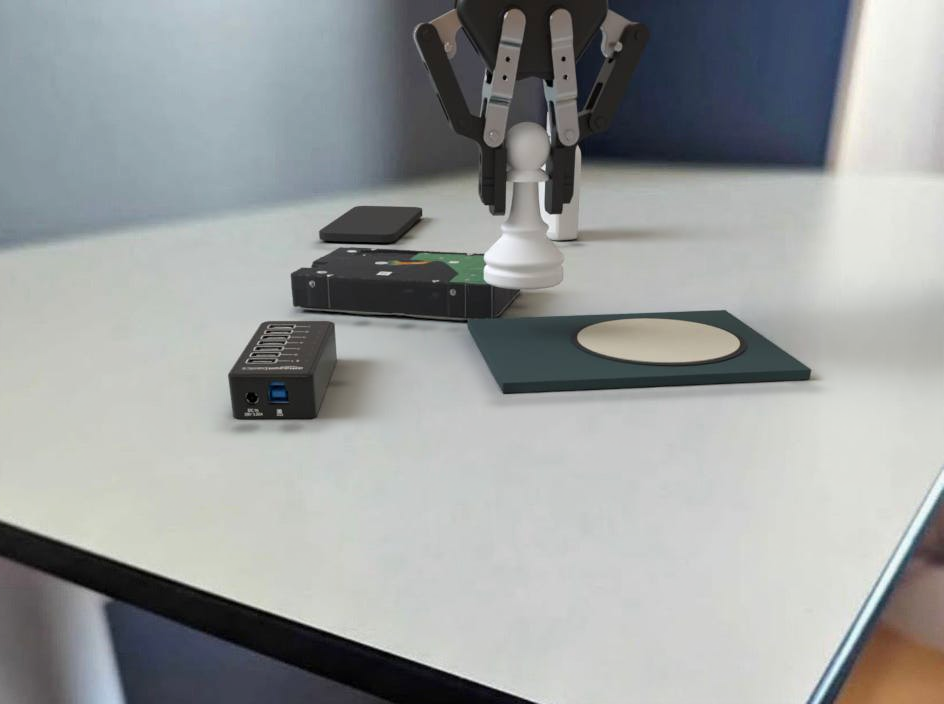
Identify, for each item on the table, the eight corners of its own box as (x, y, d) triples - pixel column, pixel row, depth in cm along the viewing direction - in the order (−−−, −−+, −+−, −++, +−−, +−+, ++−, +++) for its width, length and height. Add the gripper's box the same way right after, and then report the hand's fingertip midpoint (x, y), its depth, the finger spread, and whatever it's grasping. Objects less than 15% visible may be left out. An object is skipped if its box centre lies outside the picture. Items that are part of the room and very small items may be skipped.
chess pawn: (569, 289, 62) (577, 125, 58) (487, 291, 62) (488, 126, 57) (557, 272, 67) (563, 118, 62) (480, 273, 66) (481, 118, 62)
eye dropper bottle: (529, 240, 96) (533, 96, 89) (536, 230, 100) (541, 92, 94) (576, 242, 95) (583, 96, 89) (581, 231, 100) (588, 92, 93)
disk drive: (291, 314, 73) (496, 324, 70) (287, 273, 71) (496, 281, 68) (340, 282, 81) (524, 289, 78) (337, 245, 80) (525, 251, 77)
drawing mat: (724, 318, 71) (725, 307, 71) (810, 379, 59) (812, 366, 59) (467, 328, 69) (467, 316, 69) (502, 393, 57) (502, 380, 57)
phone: (314, 232, 94) (355, 205, 107) (315, 242, 95) (355, 213, 108) (393, 235, 93) (425, 207, 106) (393, 244, 94) (425, 215, 106)
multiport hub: (337, 358, 63) (335, 320, 62) (315, 418, 53) (312, 375, 52) (265, 358, 63) (262, 320, 62) (231, 418, 53) (226, 375, 52)
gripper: (407, -153, 49) (416, 227, 58) (688, -148, 51) (655, 220, 60) (395, -133, 56) (405, 206, 65) (644, -130, 57) (621, 201, 66)
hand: (525, 211), depth 62 cm, fingers closed on chess pawn, 3 cm apart
